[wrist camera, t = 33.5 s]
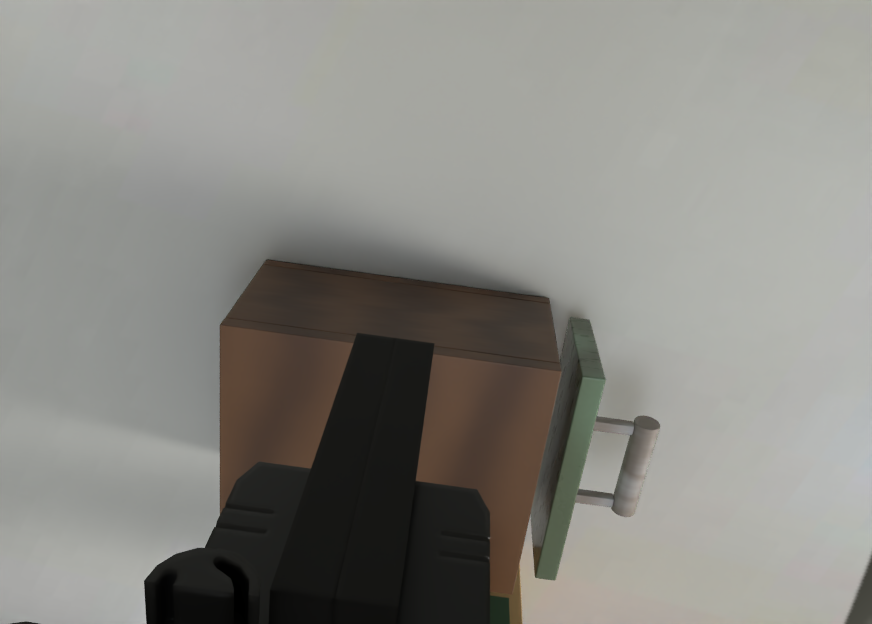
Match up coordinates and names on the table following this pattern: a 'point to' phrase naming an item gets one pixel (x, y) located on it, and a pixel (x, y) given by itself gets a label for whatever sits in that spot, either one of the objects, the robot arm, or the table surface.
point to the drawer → (582, 450)
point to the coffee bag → (507, 605)
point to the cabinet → (447, 394)
